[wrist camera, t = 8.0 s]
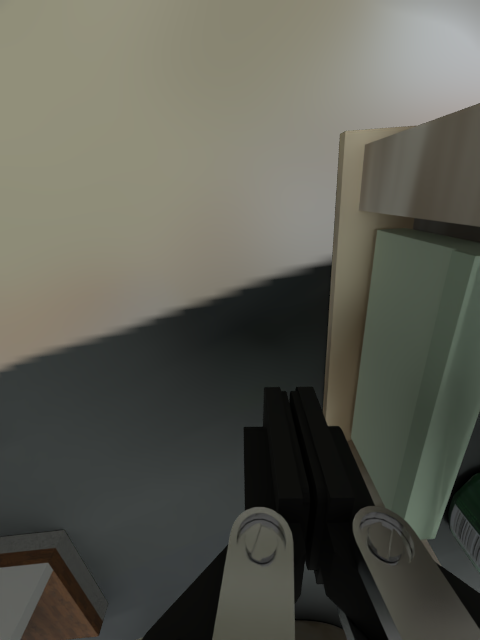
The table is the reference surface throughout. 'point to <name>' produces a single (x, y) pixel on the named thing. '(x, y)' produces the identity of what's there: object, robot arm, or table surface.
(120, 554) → the table surface
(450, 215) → the gate frame
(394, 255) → the gate
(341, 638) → the plant pot
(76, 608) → the display case
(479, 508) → the coffee jar
